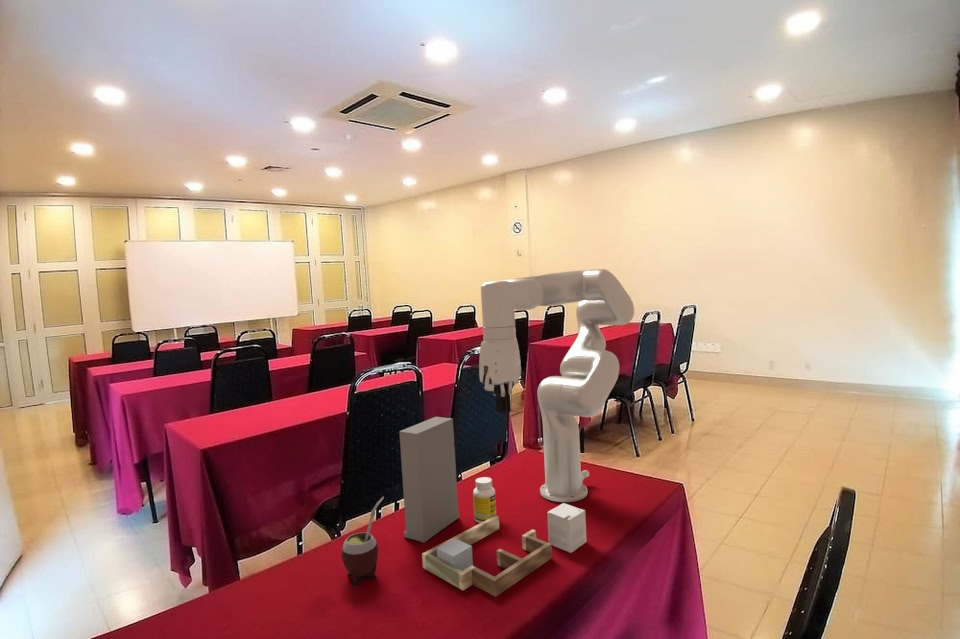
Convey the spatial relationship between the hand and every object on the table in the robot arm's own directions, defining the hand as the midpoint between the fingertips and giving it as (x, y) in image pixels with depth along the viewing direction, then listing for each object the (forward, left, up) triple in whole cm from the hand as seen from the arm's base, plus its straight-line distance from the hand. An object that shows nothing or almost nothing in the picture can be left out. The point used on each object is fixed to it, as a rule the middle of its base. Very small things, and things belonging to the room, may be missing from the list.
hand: (503, 411), depth 119 cm
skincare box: (-1, +16, -27) cm, 32 cm away
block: (+22, +5, -27) cm, 35 cm away
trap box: (+15, +8, -27) cm, 32 cm away
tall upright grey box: (+13, -13, -27) cm, 33 cm away
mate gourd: (+35, -8, -27) cm, 45 cm away
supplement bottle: (+2, -6, -27) cm, 28 cm away
